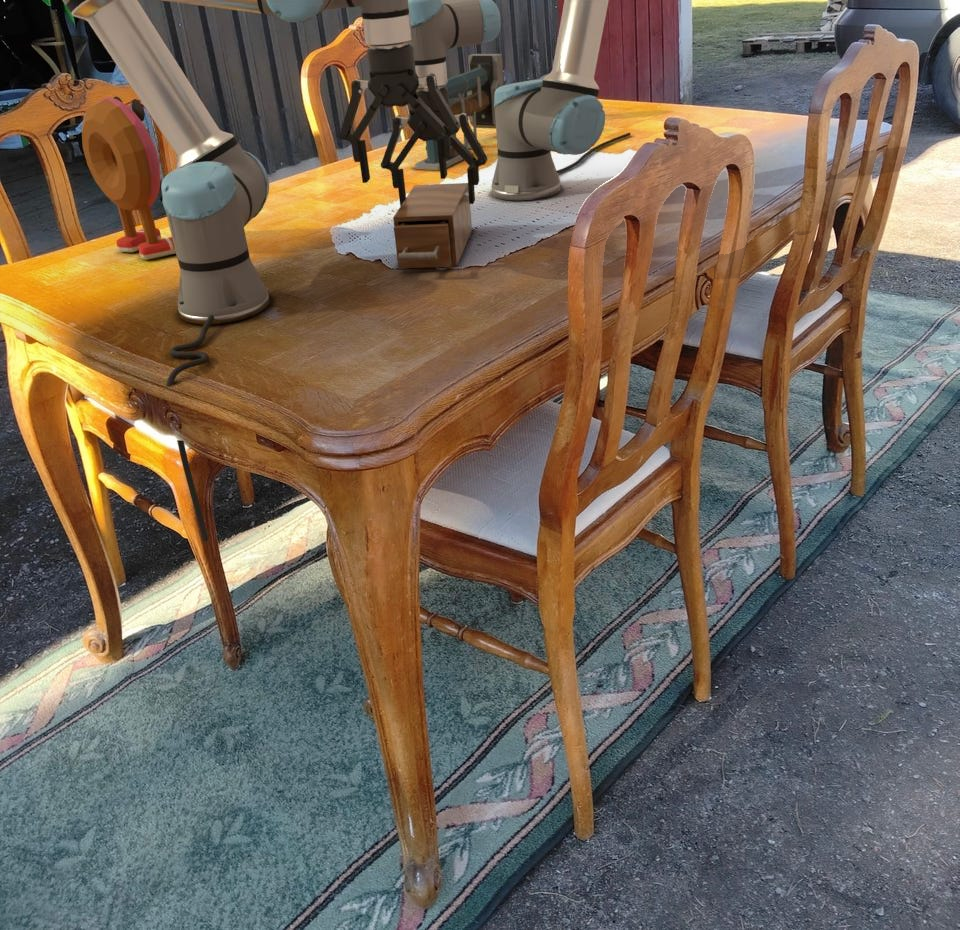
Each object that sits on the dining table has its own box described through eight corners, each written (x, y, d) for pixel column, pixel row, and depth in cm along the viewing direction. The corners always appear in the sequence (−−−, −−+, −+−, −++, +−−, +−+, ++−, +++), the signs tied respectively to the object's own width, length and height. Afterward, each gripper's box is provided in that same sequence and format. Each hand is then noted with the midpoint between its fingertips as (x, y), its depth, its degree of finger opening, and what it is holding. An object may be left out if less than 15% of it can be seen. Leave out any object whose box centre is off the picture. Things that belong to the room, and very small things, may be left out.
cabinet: (457, 265, 176) (452, 215, 172) (399, 267, 178) (393, 217, 173) (472, 229, 195) (468, 182, 190) (419, 231, 196) (414, 185, 191)
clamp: (441, 170, 238) (433, 78, 227) (411, 168, 242) (401, 78, 231) (506, 137, 263) (501, 53, 253) (478, 136, 267) (472, 53, 257)
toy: (201, 251, 195) (166, 95, 180) (157, 266, 189) (116, 105, 173) (147, 235, 208) (109, 88, 193) (104, 248, 202) (61, 97, 187)
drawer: (446, 276, 169) (442, 234, 165) (393, 278, 171) (387, 236, 167) (466, 232, 191) (462, 193, 187) (418, 233, 192) (414, 195, 188)
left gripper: (469, 36, 156) (479, 169, 167) (320, 47, 160) (339, 176, 171) (463, 43, 150) (474, 180, 161) (308, 54, 153) (329, 188, 164)
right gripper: (497, 80, 178) (503, 195, 189) (365, 87, 182) (379, 200, 193) (492, 87, 172) (499, 206, 183) (356, 94, 175) (370, 210, 186)
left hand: (405, 178), depth 166 cm, fingers open, 13 cm apart
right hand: (437, 203), depth 188 cm, fingers open, 13 cm apart
